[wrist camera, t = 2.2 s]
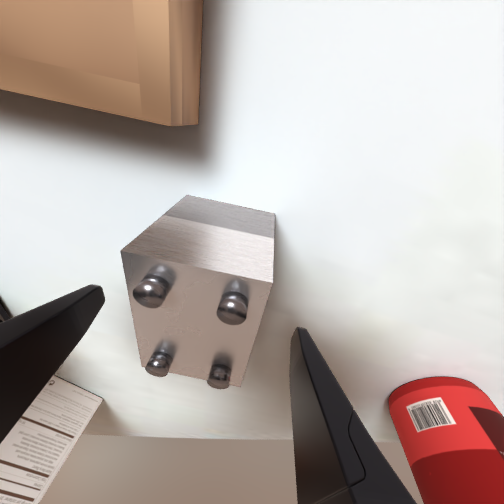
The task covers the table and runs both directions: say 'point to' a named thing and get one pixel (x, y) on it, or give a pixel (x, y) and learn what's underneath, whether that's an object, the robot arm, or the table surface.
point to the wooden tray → (106, 55)
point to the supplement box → (43, 440)
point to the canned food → (451, 440)
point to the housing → (200, 288)
